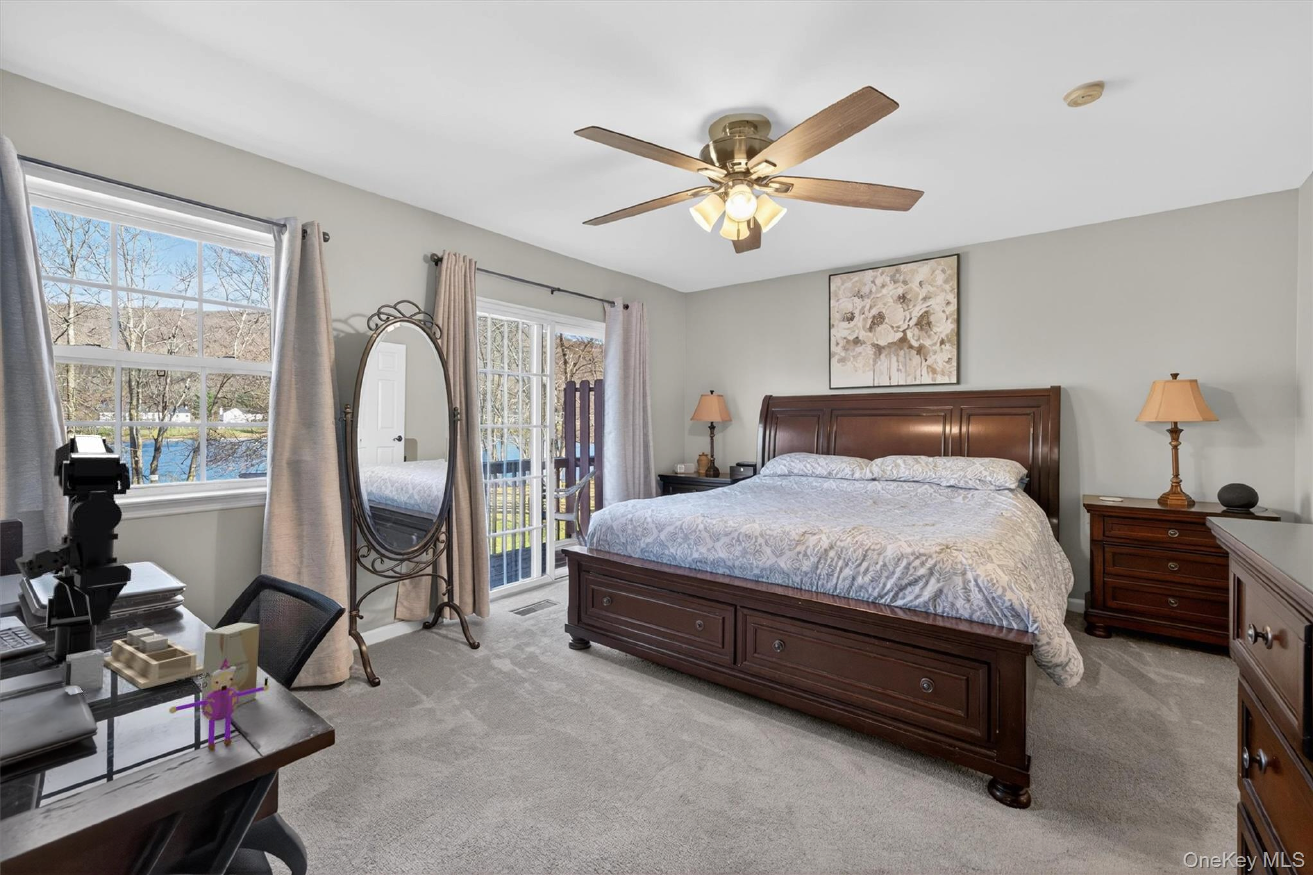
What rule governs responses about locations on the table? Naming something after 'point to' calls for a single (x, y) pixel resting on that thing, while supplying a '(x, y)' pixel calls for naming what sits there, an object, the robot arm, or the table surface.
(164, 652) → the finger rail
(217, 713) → the wizard figurine
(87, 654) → the grey rounded square block
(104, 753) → the table surface
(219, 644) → the skincare box
